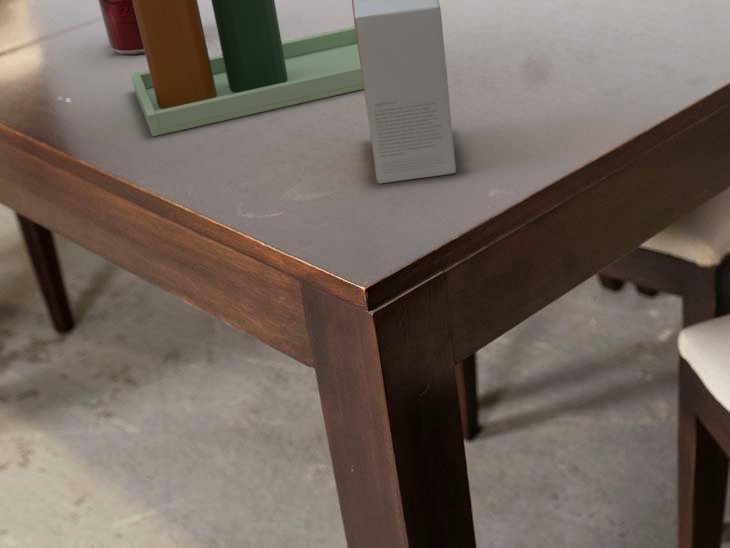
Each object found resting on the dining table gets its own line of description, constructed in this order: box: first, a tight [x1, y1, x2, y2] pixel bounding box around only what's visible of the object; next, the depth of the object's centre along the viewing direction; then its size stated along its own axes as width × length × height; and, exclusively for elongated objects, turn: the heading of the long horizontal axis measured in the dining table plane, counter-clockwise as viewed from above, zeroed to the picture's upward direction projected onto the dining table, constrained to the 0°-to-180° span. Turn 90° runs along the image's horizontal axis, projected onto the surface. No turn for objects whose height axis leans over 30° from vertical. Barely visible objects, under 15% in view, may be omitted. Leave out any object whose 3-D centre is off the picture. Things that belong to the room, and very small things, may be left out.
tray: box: [130, 25, 364, 137], centre depth 106 cm, size 26×13×2 cm, turn 108°
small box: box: [351, 0, 457, 185], centre depth 85 cm, size 8×6×13 cm
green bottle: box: [211, 0, 288, 93], centre depth 102 cm, size 6×6×15 cm
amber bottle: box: [132, 0, 217, 109], centre depth 101 cm, size 6×6×15 cm
